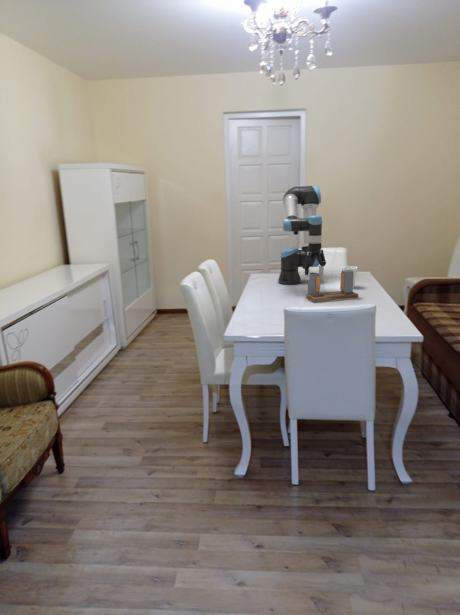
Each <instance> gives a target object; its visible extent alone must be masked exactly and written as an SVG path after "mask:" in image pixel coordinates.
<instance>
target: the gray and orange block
mask: <svg viewBox="0 0 460 615" xmlns="http://www.w3.org/2000/svg"><path fill="white" fill-rule="evenodd" d="M320 289H321V276H320V273H319V272H310V280H307V294H316V293H321V292H320V291H321V290H320Z"/></svg>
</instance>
